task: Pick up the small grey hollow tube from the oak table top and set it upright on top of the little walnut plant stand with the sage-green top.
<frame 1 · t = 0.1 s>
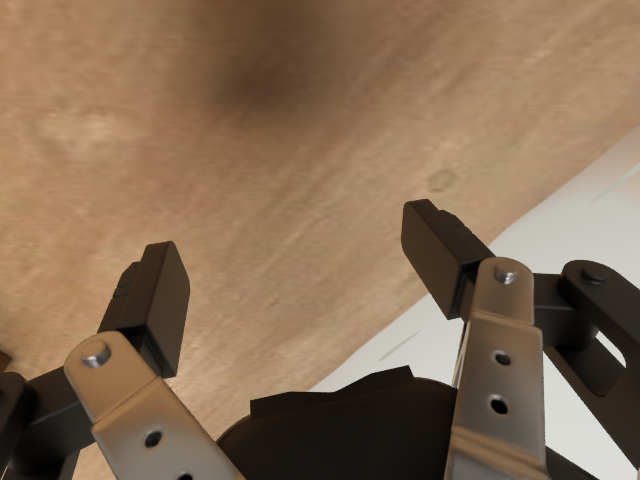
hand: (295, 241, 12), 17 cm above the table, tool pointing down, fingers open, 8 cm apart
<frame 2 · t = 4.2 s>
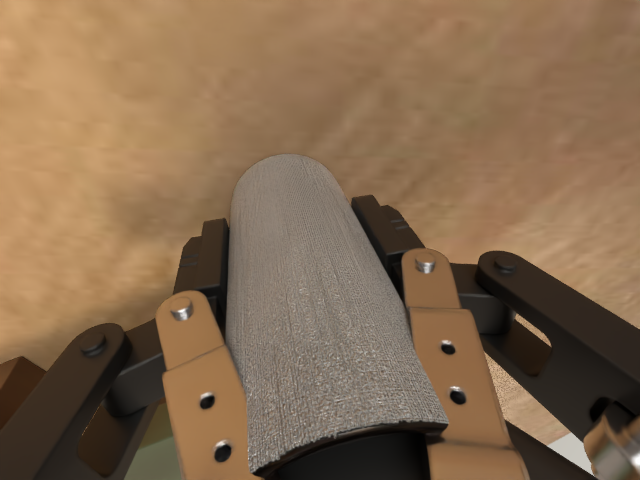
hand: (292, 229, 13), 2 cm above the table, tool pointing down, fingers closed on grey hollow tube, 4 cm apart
plant stand: (169, 382, 19), on the table
grey hollow tube: (286, 202, 14), on the table, touching gripper
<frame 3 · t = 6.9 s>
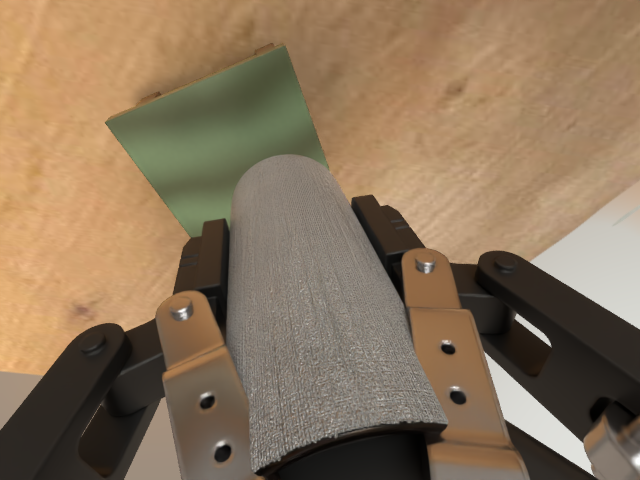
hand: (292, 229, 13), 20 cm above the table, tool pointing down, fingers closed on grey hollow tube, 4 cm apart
plant stand: (239, 136, 30), on the table
grey hollow tube: (287, 203, 14), point 18 cm above the table, touching gripper
when the fingers open (9 cm above the table, at t = 10.1 s): grey hollow tube stays where it is, resting on plant stand.
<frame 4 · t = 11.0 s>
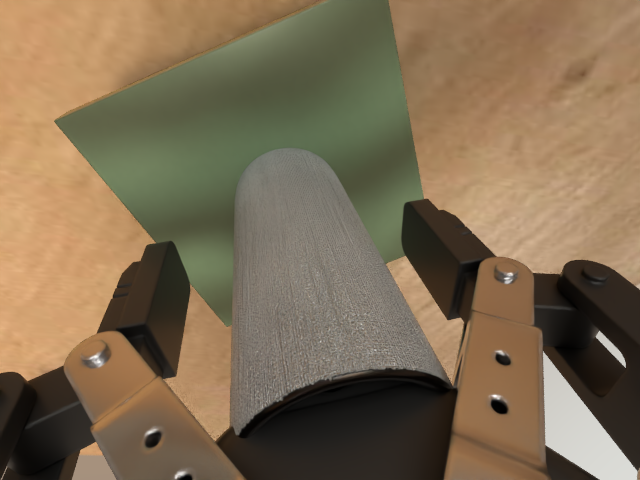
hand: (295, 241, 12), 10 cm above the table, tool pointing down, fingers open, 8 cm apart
plant stand: (272, 142, 20), on the table
grey hollow tube: (287, 194, 15), point 7 cm above the table, touching plant stand
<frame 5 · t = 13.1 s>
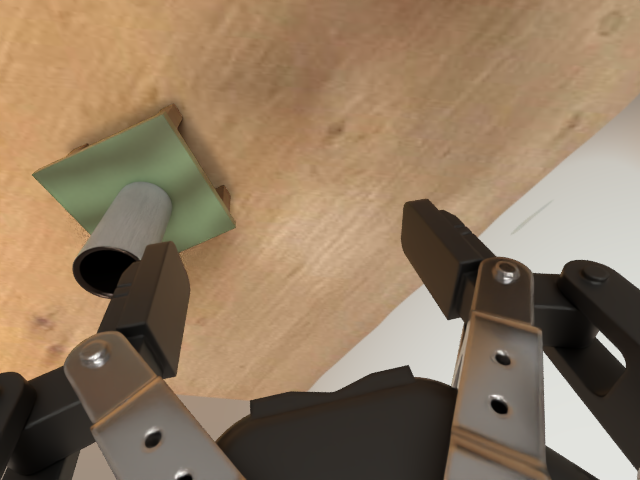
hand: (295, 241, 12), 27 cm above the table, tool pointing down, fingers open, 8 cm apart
plant stand: (158, 174, 37), on the table
grey hollow tube: (146, 203, 31), point 7 cm above the table, touching plant stand
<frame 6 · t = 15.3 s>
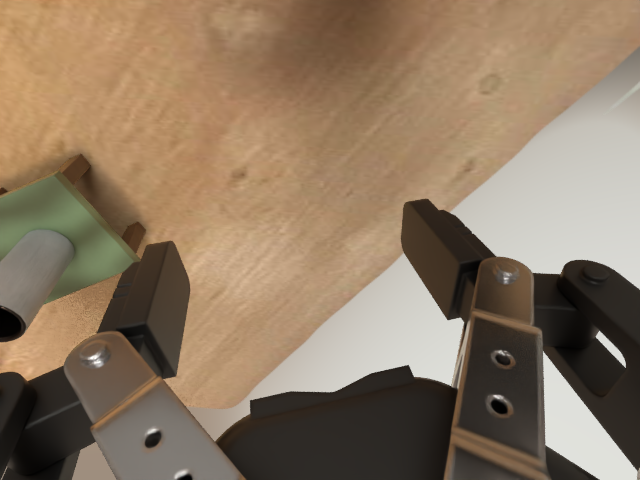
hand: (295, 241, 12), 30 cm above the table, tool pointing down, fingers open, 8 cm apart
plant stand: (74, 212, 40), on the table
grey hollow tube: (50, 246, 35), point 7 cm above the table, touching plant stand
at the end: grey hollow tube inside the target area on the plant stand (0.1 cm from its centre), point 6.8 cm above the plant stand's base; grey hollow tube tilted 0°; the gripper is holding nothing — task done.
